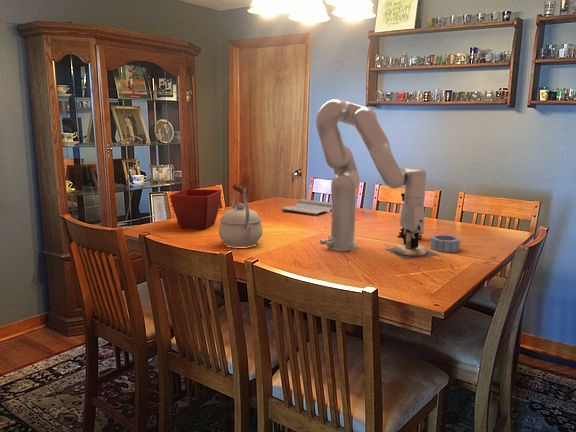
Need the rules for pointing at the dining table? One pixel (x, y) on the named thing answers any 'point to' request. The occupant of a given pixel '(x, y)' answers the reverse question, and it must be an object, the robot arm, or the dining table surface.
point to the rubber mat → (412, 256)
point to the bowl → (445, 243)
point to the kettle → (240, 223)
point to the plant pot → (196, 207)
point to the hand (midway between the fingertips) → (410, 245)
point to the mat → (310, 207)
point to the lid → (407, 248)
